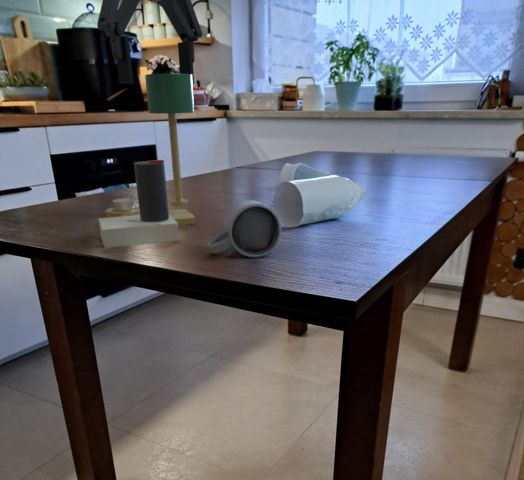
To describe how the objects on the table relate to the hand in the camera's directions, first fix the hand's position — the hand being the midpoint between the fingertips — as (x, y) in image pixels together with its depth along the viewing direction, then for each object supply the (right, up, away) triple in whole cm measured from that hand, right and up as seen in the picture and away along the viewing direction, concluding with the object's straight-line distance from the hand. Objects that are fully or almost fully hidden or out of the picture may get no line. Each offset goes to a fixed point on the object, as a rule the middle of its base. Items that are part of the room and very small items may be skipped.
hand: (158, 84), depth 88 cm
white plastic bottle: (+28, -21, +10) cm, 37 cm away
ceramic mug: (+15, -31, -9) cm, 35 cm away
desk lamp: (+2, -18, +11) cm, 21 cm away
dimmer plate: (-3, -27, -1) cm, 27 cm away
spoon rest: (+27, -6, +41) cm, 49 cm away
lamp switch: (-8, -20, +7) cm, 23 cm away
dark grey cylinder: (0, -23, -1) cm, 23 cm away
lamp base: (-3, -21, +10) cm, 24 cm away
